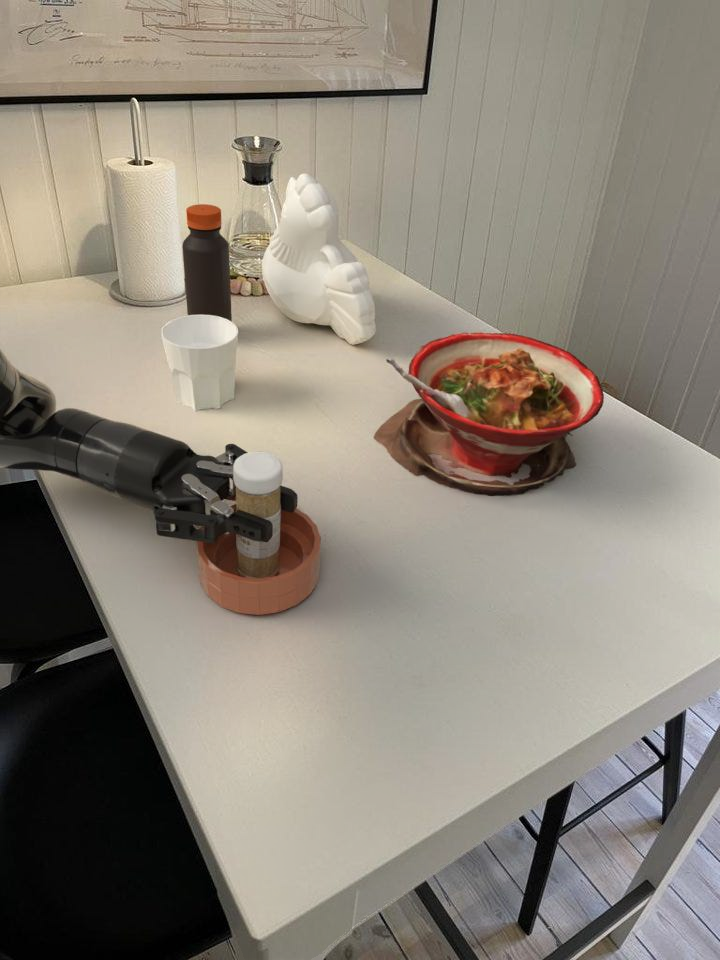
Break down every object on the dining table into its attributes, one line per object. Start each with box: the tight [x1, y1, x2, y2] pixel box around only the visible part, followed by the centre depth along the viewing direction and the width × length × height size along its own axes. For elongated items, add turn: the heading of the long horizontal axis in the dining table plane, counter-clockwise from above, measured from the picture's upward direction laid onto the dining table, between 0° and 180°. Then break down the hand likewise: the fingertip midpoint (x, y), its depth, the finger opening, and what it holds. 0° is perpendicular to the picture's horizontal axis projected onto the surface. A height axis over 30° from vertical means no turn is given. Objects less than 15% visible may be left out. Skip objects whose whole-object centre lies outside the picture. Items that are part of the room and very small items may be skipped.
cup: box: [160, 314, 239, 412], centre depth 103 cm, size 10×10×10 cm
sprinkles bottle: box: [232, 451, 283, 578], centre depth 74 cm, size 5×5×13 cm
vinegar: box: [181, 203, 233, 322], centre depth 114 cm, size 7×7×20 cm
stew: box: [373, 332, 605, 497], centre depth 94 cm, size 28×24×16 cm
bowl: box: [195, 503, 322, 616], centre depth 77 cm, size 12×12×5 cm
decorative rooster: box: [261, 172, 377, 346], centre depth 118 cm, size 25×16×25 cm
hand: (282, 517), depth 72 cm, fingers closed on sprinkles bottle, 4 cm apart
